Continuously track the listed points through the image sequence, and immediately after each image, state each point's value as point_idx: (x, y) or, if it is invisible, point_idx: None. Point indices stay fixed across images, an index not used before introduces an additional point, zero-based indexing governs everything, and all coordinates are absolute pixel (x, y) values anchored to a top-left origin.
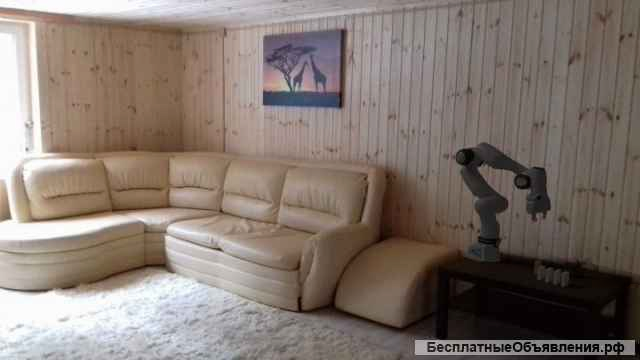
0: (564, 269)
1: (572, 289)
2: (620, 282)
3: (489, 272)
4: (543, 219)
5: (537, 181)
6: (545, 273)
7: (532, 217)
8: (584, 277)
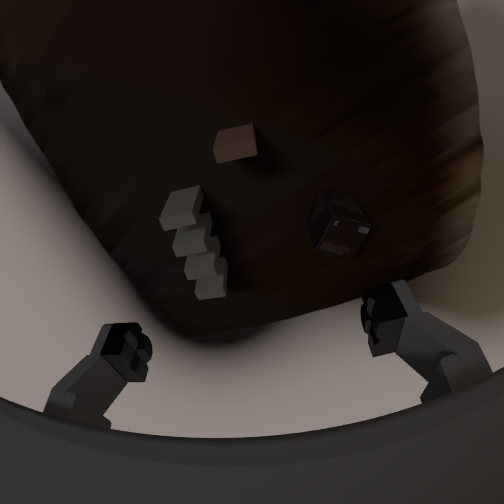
0: (323, 202)
1: None
2: None
3: (61, 72)
4: (362, 308)
5: None
6: (175, 236)
7: (79, 367)
8: None
